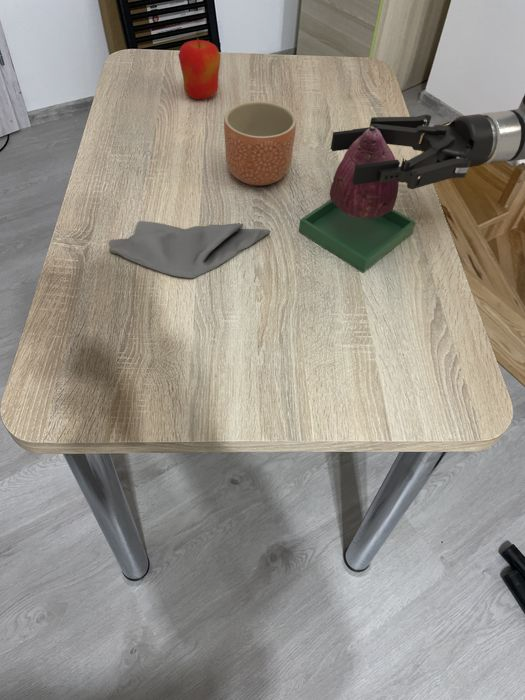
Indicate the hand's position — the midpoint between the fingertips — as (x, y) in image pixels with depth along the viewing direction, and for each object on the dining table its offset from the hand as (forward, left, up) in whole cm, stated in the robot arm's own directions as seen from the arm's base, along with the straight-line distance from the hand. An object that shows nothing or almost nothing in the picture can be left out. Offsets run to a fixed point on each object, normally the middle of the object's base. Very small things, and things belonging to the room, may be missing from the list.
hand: (343, 158), depth 78 cm
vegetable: (-2, -4, -8) cm, 9 cm away
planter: (+21, -4, -15) cm, 26 cm away
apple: (+50, -16, -15) cm, 54 cm away
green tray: (-2, -4, -15) cm, 16 cm away
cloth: (+14, +19, -15) cm, 28 cm away
